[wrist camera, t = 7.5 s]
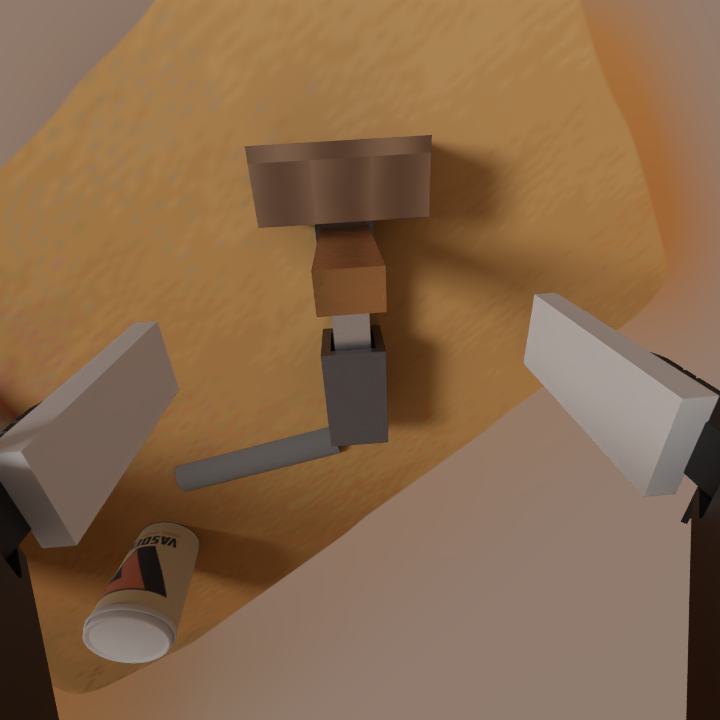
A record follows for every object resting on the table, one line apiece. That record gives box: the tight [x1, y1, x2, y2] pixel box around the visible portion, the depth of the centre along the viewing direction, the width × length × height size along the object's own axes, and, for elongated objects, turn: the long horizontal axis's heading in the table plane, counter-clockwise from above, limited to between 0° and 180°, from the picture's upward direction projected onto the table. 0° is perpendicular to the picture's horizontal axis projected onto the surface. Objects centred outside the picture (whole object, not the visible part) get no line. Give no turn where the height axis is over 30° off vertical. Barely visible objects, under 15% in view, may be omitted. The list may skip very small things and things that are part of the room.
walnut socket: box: [245, 135, 432, 228], centre depth 29 cm, size 12×5×7 cm, turn 93°
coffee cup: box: [83, 522, 199, 663], centre depth 47 cm, size 9×9×12 cm
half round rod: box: [175, 427, 341, 491], centre depth 46 cm, size 4×20×2 cm, turn 106°
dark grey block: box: [321, 325, 388, 447], centre depth 39 cm, size 6×10×6 cm, turn 3°
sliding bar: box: [312, 220, 387, 351], centre depth 29 cm, size 4×20×16 cm, turn 3°
